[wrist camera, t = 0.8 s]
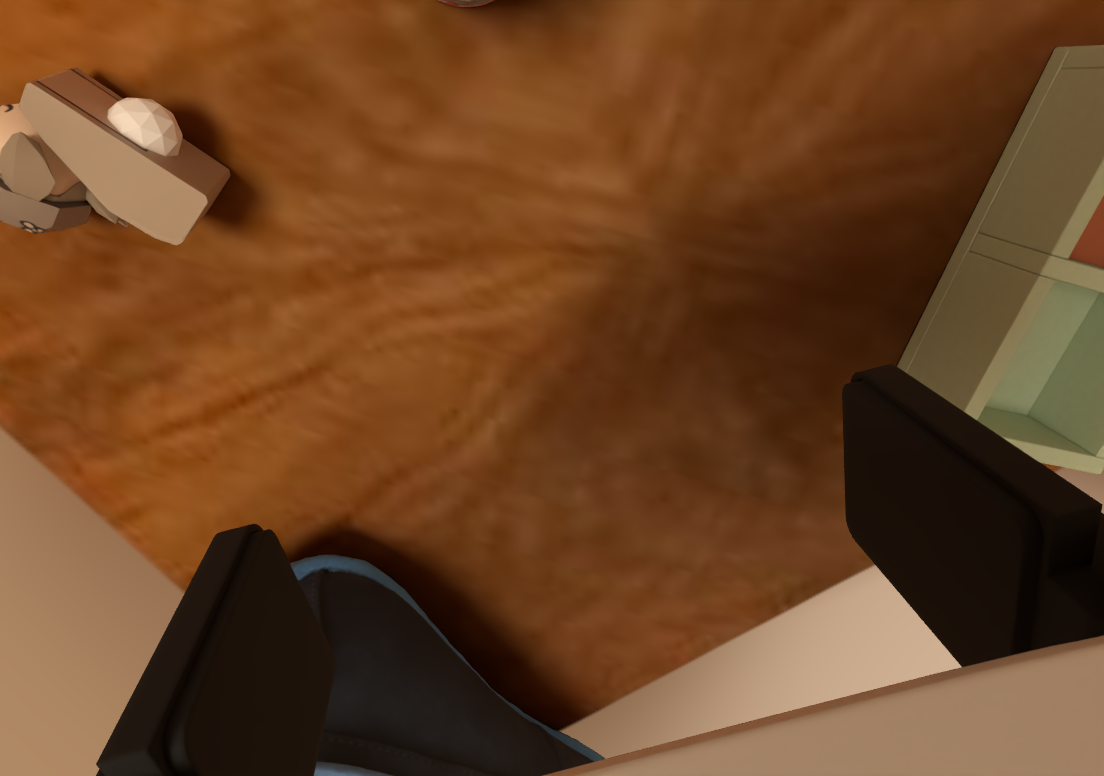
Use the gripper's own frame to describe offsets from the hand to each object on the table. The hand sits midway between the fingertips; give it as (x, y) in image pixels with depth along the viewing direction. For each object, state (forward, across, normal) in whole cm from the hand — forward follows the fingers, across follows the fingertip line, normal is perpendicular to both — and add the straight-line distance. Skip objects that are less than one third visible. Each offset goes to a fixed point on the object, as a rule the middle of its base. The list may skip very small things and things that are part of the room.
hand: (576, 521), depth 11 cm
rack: (+18, -23, +6) cm, 30 cm away
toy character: (+16, +10, -9) cm, 21 cm away
